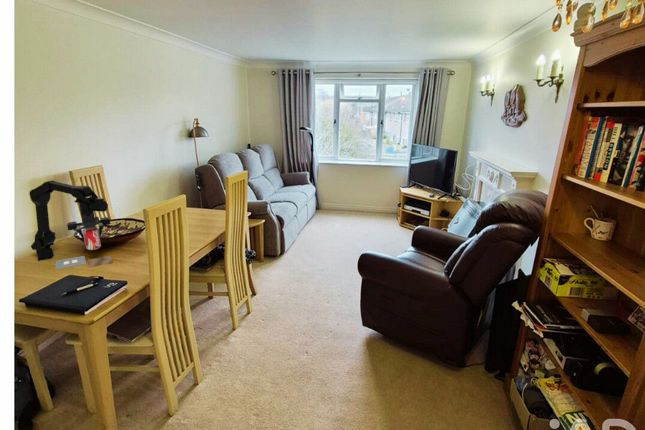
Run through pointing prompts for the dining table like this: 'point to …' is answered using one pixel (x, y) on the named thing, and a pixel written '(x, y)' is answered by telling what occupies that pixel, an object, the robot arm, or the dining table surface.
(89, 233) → the soda can
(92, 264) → the pad
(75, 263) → the plate
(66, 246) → the dining table surface
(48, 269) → the dining table surface
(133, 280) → the dining table surface
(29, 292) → the dining table surface
